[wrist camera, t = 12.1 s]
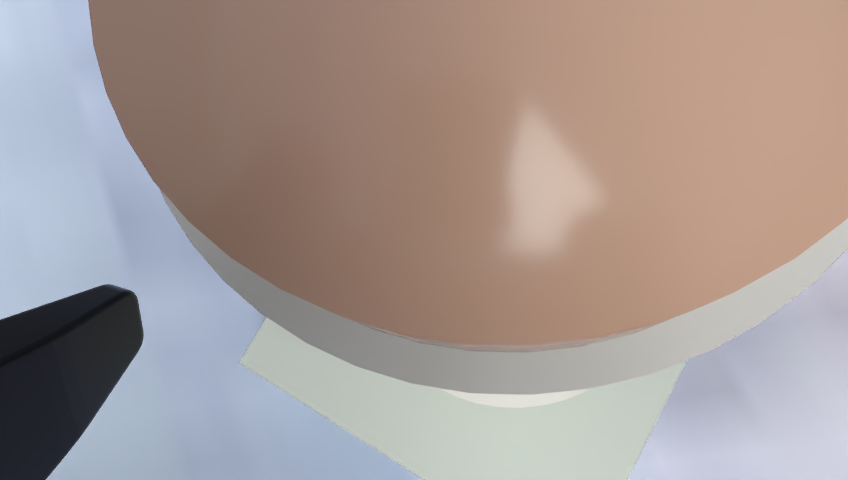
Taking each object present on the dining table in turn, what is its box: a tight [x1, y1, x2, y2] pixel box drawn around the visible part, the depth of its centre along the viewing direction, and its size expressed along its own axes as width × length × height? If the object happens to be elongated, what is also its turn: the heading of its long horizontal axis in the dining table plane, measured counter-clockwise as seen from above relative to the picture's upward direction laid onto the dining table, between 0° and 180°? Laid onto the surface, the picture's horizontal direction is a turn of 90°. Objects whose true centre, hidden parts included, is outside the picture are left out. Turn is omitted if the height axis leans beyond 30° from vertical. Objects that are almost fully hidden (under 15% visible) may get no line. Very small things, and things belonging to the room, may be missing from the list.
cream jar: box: [88, 0, 848, 408], centre depth 11 cm, size 7×7×13 cm
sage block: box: [239, 317, 687, 480], centre depth 18 cm, size 12×10×2 cm
